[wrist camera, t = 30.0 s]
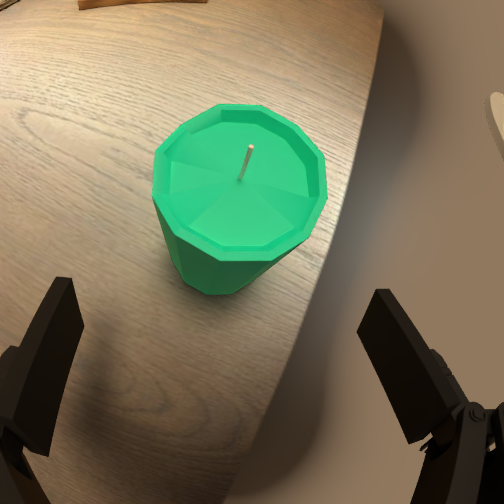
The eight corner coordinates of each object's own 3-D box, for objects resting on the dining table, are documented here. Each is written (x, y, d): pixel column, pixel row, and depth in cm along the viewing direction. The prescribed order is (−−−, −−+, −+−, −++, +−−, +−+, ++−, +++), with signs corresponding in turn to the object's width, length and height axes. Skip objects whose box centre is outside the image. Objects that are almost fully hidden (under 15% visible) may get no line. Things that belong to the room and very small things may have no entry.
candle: (248, 197, 21) (305, 69, 10) (275, 281, 20) (378, 221, 8) (161, 217, 20) (132, 91, 8) (185, 307, 19) (169, 279, 7)
